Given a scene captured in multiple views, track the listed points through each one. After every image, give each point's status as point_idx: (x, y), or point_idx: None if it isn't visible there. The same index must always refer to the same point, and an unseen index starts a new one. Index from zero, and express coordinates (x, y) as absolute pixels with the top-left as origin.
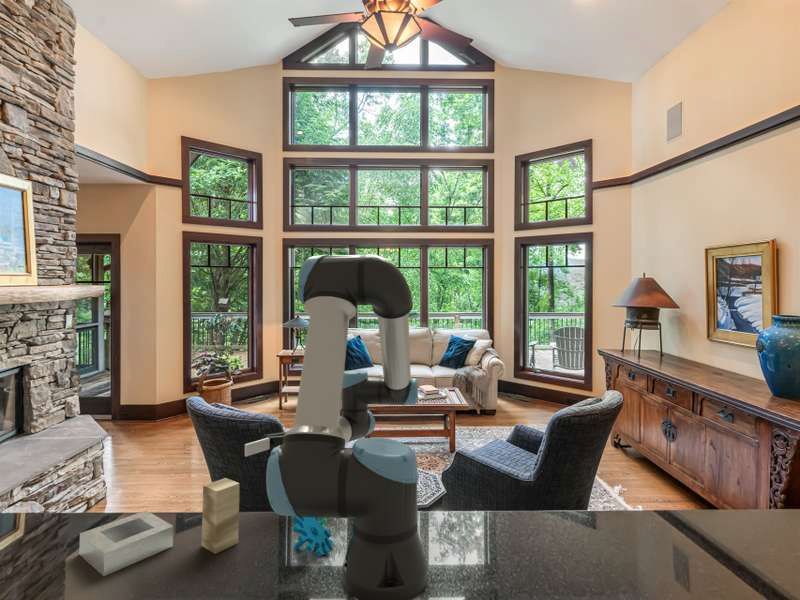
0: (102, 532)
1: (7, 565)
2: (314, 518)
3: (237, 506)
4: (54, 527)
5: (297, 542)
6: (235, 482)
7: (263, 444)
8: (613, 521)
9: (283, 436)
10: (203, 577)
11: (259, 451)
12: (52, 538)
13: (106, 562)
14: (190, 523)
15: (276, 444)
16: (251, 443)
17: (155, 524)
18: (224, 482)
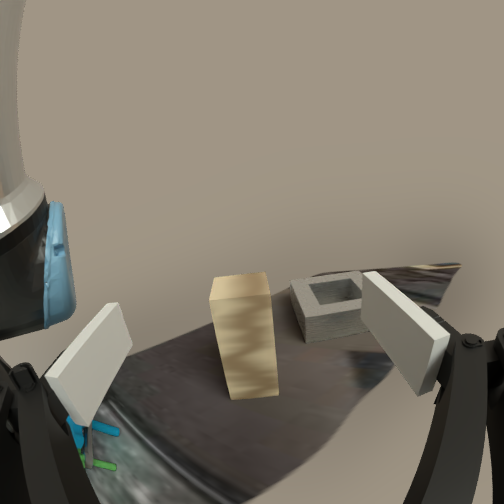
0: (351, 281)
1: (369, 269)
2: (72, 425)
3: (218, 343)
4: (434, 278)
5: (110, 426)
6: (221, 297)
7: (404, 339)
8: None
9: (454, 424)
10: (194, 347)
11: (389, 352)
12: (408, 279)
13: (290, 290)
14: (372, 367)
15: (436, 418)
16: (375, 283)
17: (330, 306)
18: (243, 288)
